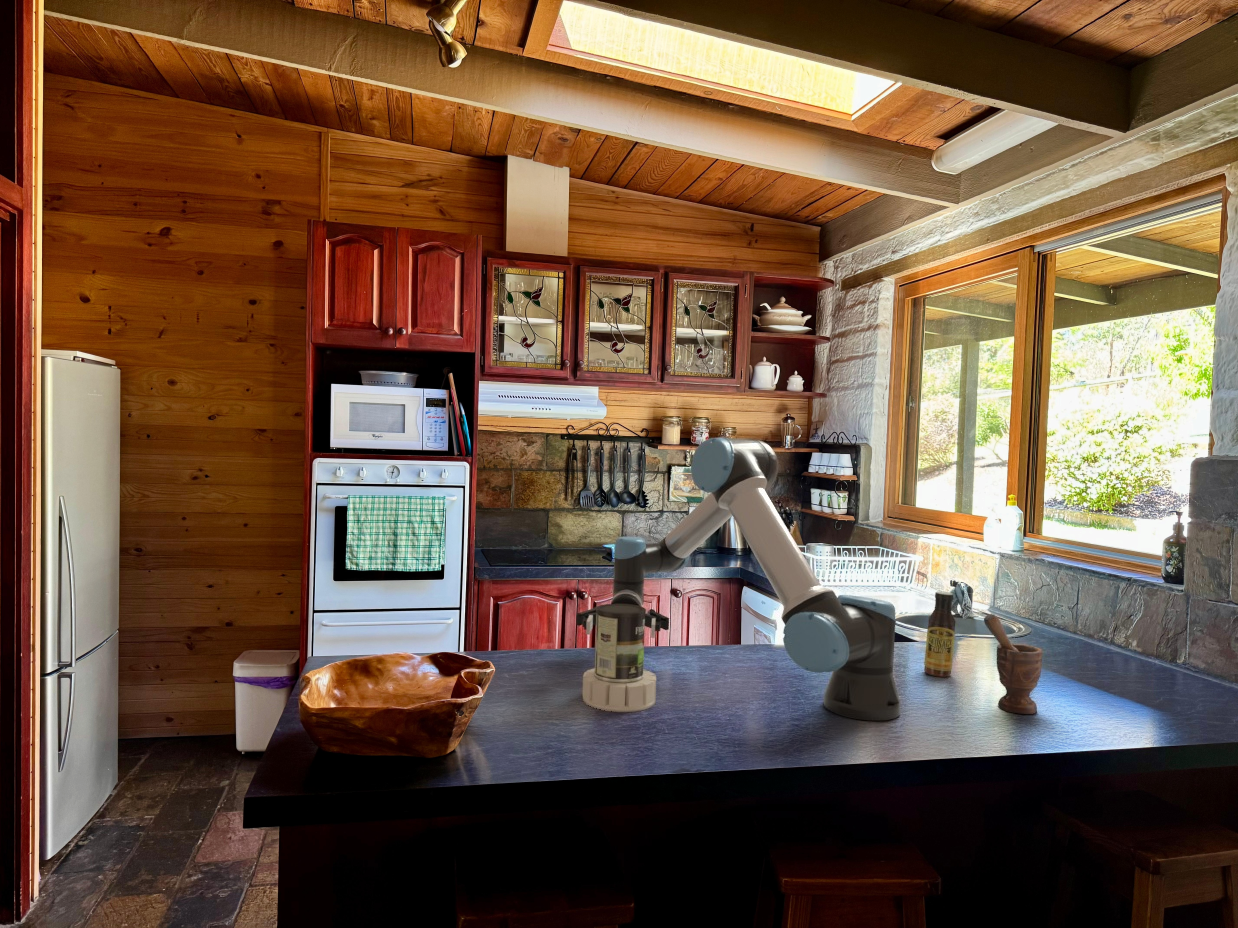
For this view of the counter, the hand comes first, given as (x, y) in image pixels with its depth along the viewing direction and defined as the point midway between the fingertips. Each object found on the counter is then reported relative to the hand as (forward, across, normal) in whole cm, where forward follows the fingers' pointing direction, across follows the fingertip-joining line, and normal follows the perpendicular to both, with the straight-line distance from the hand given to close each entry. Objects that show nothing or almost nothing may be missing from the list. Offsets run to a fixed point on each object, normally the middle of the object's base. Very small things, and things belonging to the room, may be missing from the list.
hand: (620, 629), depth 171 cm
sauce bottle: (-30, -76, -14) cm, 83 cm away
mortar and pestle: (-5, -82, -14) cm, 84 cm away
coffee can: (+2, 0, -9) cm, 10 cm away
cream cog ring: (+2, 0, -14) cm, 14 cm away
